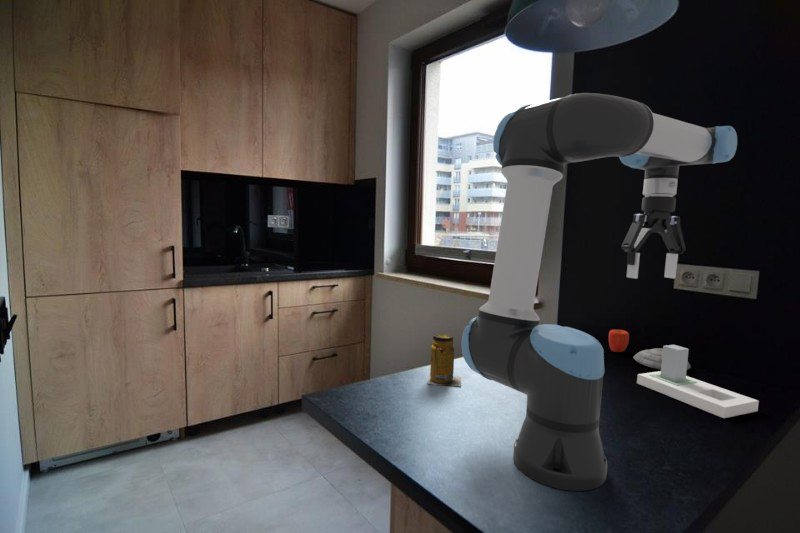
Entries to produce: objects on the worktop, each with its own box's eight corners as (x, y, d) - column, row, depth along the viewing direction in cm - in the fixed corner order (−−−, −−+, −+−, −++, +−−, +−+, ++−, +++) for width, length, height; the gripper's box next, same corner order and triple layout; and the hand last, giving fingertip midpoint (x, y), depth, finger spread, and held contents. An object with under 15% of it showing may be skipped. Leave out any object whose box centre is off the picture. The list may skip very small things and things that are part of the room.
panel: (723, 418, 96) (725, 406, 96) (636, 383, 116) (637, 373, 116) (757, 411, 101) (758, 399, 100) (668, 378, 121) (669, 369, 121)
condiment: (429, 375, 118) (431, 331, 117) (460, 377, 117) (463, 333, 116) (427, 384, 111) (429, 338, 110) (461, 387, 110) (463, 341, 109)
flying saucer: (622, 359, 139) (623, 342, 138) (664, 358, 141) (665, 341, 141) (657, 375, 124) (658, 356, 124) (703, 374, 126) (704, 355, 126)
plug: (673, 392, 111) (678, 350, 110) (657, 385, 115) (660, 345, 114) (684, 390, 113) (688, 348, 111) (667, 383, 117) (671, 343, 116)
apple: (623, 355, 142) (625, 333, 141) (604, 351, 146) (605, 329, 146) (631, 352, 146) (632, 330, 145) (612, 348, 150) (614, 326, 150)
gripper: (635, 192, 105) (627, 279, 106) (706, 198, 113) (698, 279, 115) (610, 193, 112) (603, 276, 113) (679, 199, 120) (671, 276, 122)
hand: (651, 278), depth 114 cm, fingers open, 13 cm apart
